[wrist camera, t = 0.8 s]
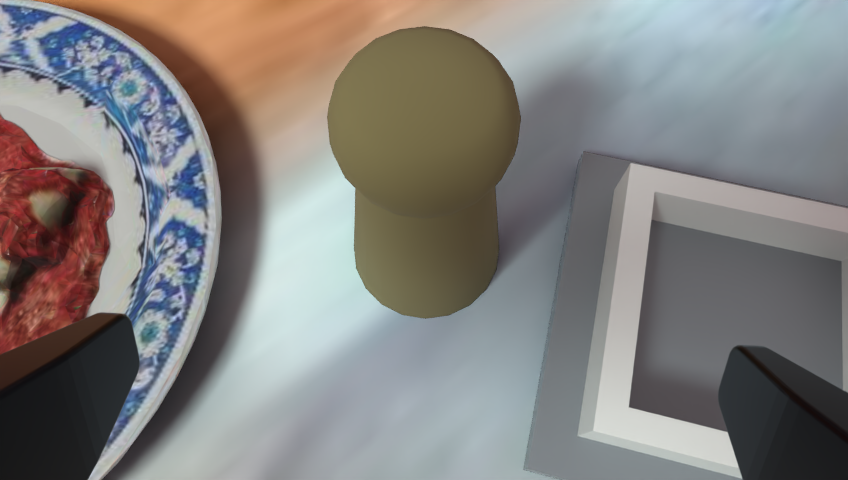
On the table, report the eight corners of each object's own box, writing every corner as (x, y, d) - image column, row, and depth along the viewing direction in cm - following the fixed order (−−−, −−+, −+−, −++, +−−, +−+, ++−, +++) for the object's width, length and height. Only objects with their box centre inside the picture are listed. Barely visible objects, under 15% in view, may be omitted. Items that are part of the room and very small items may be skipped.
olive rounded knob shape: (496, 183, 26) (539, -11, 16) (501, 319, 24) (555, 193, 13) (358, 182, 26) (311, -12, 16) (349, 317, 24) (288, 192, 14)
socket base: (902, 571, 20) (984, 586, 17) (523, 469, 21) (538, 467, 18) (887, 228, 25) (949, 194, 22) (578, 163, 26) (597, 121, 23)
